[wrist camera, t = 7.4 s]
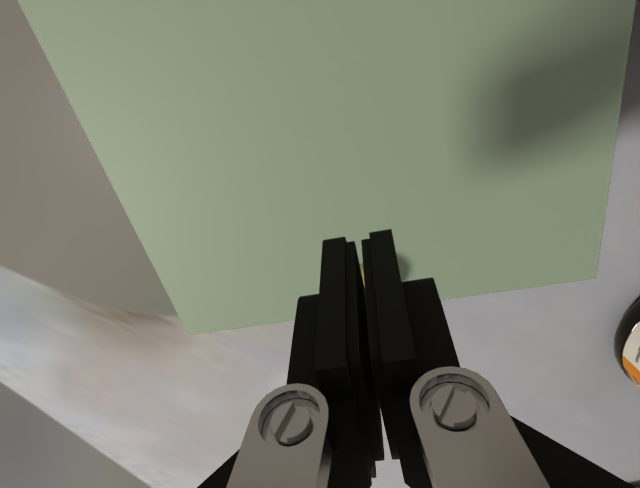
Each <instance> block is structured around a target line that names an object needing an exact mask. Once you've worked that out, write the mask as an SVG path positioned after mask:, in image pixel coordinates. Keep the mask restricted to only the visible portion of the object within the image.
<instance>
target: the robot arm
mask: <svg viewBox="0 0 640 488" xmlns="http://www.w3.org/2000/svg"><path fill="white" fill-rule="evenodd" d="M369 237H370V238H369V239H363V240H361V244H362V258H363V272H364V282H363V278H362V273H361V268H360V263H359V259H358V254H357V249H356V244H355V241H350V242H347V241H346V238H345V237H339V238H332V239H326V240H323V242H322V256H321V271H320V286H319V294H314V295H307V296H300V297H299V298H298V302H297V309H296V316H295V324H294V332H293V339H292V347H291V355H290V363H289V370H288V378H287V385H285V386H282V387H279V388H277V389H275V390H273V391H272V392H270V393H269V394H268V395H266V396H265V397H264V398H263V399H262V400H261V401H260V403H259V404H258V405H257V406H256V408H255V410H254V412H253V414H252V416H251V419H250V422H249V425H248V427H247V430H246V433H245V436H244V439H243V442H242V444H241V447H240V449H239V450H238V451H237V452H236V453H235V454H234V455H233V456H231V457H230V458H229V459H228V460H227V461H226V462H225V463H224V464H223V465H222V466H220V467H219V468H218V469H217V470H216V471H215V472H214V473H213V474H212V475H210V476H209V477H208V478H207V479H206V480H205V481H204V482H203V483H202V484H201V485H199V486H198V487H197V488H370V487H371V485H372V481H371V478H375V477H376V466H375V461H381V460H384V447H383V436H382V424H381V413H380V408H381V412H382V417H383V421H384V426H385V430H386V434H387V439H388V443H389V447H390V452H391V456H392V459H400V463H401V467H402V472H403V477H404V482H405V483H406V484H407V485H408V486H409V487H410V488H636V487H634V486H632V485H631V484H629V483H627V482H625V481H624V480H622V479H620V478H618V477H617V476H615V475H613V474H611V473H610V472H608V471H606V470H604V469H603V468H601V467H599V466H598V465H596V464H594V463H592V462H591V461H589V460H587V459H585V458H584V457H582V456H580V455H578V454H577V453H575V452H573V451H571V450H570V449H568V448H566V447H564V446H563V445H561V444H559V443H557V442H556V441H554V440H552V439H550V438H549V437H547V436H545V435H544V434H542V433H540V432H538V431H537V430H535V429H533V428H531V427H530V426H528V425H526V424H524V423H523V422H521V421H519V420H517V419H516V418H514V417H512V416H510V415H509V413H508V411H507V410H506V408H505V406H504V404H503V403H502V401H501V399H500V397H499V395H498V394H497V392H496V390H495V389H494V388H493V386H492V385H491V384H490V383H489V381H488V380H486V379H485V378H483V377H482V376H481V375H479V374H478V373H476V372H473V371H471V370H468V369H466V368H460V365H459V361H458V358H457V355H456V351H455V348H454V345H453V341H452V338H451V335H450V331H449V328H448V324H447V321H446V318H445V314H444V311H443V308H442V304H441V301H440V297H439V294H438V291H437V287H436V284H435V281H434V279H433V277H432V278H425V279H418V280H411V281H404V282H401V277H400V271H399V266H398V261H397V256H396V250H395V245H394V240H393V235H392V230H391V229H387V230H381V231H375V232H369ZM364 285H365V287H364Z"/></svg>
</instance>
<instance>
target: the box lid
mask: <svg viewBox="0 0 640 488" xmlns="http://www.w3.org/2000/svg"><path fill="white" fill-rule="evenodd" d="M18 2H19V4H20V6H21V8H22V10H23V12H24V14H25V16H26V18H27V20H28V22H29V24H30V26H31V27H32V30H33V31H34V33H35V35H36V37H37V39H38V41H39V43H40V45H41V47H42V49H43V51H44V53H45V55H46V57H47V59H48V61H49V63H50V64H51V67H52V69H53V71H54V73H55V75H56V76H57V78H58V80H59V82H60V84H61V86H62V88H63V90H64V92H65V94H66V96H67V98H68V100H69V102H70V104H71V106H72V107H73V110H74V112H75V114H76V115H77V118H78V120H79V121H80V123H81V125H82V127H83V129H84V131H85V133H86V135H87V137H88V139H89V141H90V143H91V145H92V147H93V149H94V151H95V153H96V155H97V157H98V159H99V161H100V163H101V165H102V166H103V168H104V170H105V172H106V174H107V176H108V178H109V180H110V182H111V184H112V186H113V188H114V190H115V192H116V194H117V196H118V198H119V200H120V201H121V204H122V206H123V208H124V210H125V211H126V213H127V215H128V217H129V219H130V221H131V223H132V225H133V227H134V229H135V231H136V233H137V235H138V237H139V239H140V241H141V243H142V245H143V247H144V248H145V251H146V252H147V254H148V256H149V258H150V260H151V262H152V264H153V266H154V268H155V270H156V272H157V274H158V276H159V278H160V280H161V282H162V284H163V286H164V288H165V290H166V292H167V294H168V295H169V297H170V299H171V301H172V303H173V305H174V307H175V309H176V311H177V313H178V315H179V317H180V319H181V321H182V323H183V325H184V327H185V329H186V331H187V333H188V335H194V334H201V333H208V332H215V331H222V330H230V329H237V328H244V327H251V326H258V325H265V324H273V323H280V322H287V321H294V320H295V316H296V309H297V302H298V298H299V297H300V296H307V295H314V294H319V286H320V271H321V256H322V242H323V240H326V239H332V238H339V237H345V238H346V241H347V242H350V241H355V244H356V249H357V254H358V259H359V263H360V268H361V273H362V278H363V282H364V272H363V258H362V244H361V240H363V239H369V238H370V237H369V232H375V231H381V230H387V229H391V230H392V235H393V240H394V245H395V250H396V256H397V261H398V266H399V271H400V277H401V282H404V281H411V280H418V279H425V278H432V277H433V279H434V281H435V284H436V287H437V291H438V294H439V297H440V300H445V299H452V298H460V297H467V296H474V295H481V294H488V293H495V292H503V291H510V290H517V289H524V288H531V287H539V286H546V285H553V284H560V283H567V282H575V281H582V280H589V279H596V276H597V269H598V262H599V255H600V248H601V241H602V234H603V227H604V221H605V214H606V207H607V200H608V193H609V186H610V179H611V172H612V165H613V158H614V151H615V144H616V137H617V130H618V123H619V116H620V109H621V102H622V95H623V88H624V81H625V75H626V68H627V61H628V54H629V47H630V40H631V33H632V26H633V19H634V12H635V5H636V0H18ZM364 287H365V285H364Z"/></svg>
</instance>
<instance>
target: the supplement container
mask: <svg viewBox="0 0 640 488" xmlns="http://www.w3.org/2000/svg"><path fill="white" fill-rule="evenodd" d="M614 351H615V356H616V359H617V362H618V364H619V365H620V367H621V369H622V370H623V372H624V373H625V374H626V376H627V377H628V378H629V379H630V380H631V381H632V382H633V383H634V384H635V386H636V387H637V389H638V390H639V391H640V299H639V300H638V301H637V302H636V303H635V304H634V305H633V306H632V307H631V308H630V309H629V310H628V311H627V313H626V314H625V315H624V317H623V318H622V320H621V321H620V323H619V326H618V328H617V331H616V334H615V338H614Z"/></svg>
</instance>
